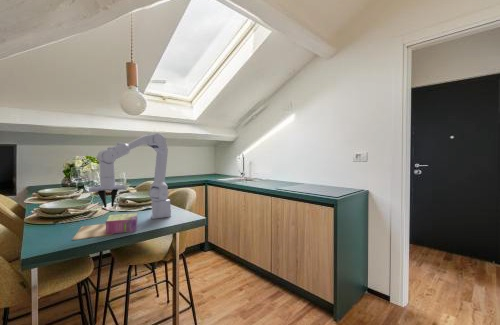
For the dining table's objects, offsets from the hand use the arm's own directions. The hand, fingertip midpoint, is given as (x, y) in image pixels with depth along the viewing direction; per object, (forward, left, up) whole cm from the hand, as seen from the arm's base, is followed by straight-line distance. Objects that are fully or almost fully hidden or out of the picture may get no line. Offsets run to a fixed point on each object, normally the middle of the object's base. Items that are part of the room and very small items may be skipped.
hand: (109, 206), depth 112 cm
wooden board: (+6, 0, -10) cm, 12 cm away
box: (+1, +3, -7) cm, 8 cm away
